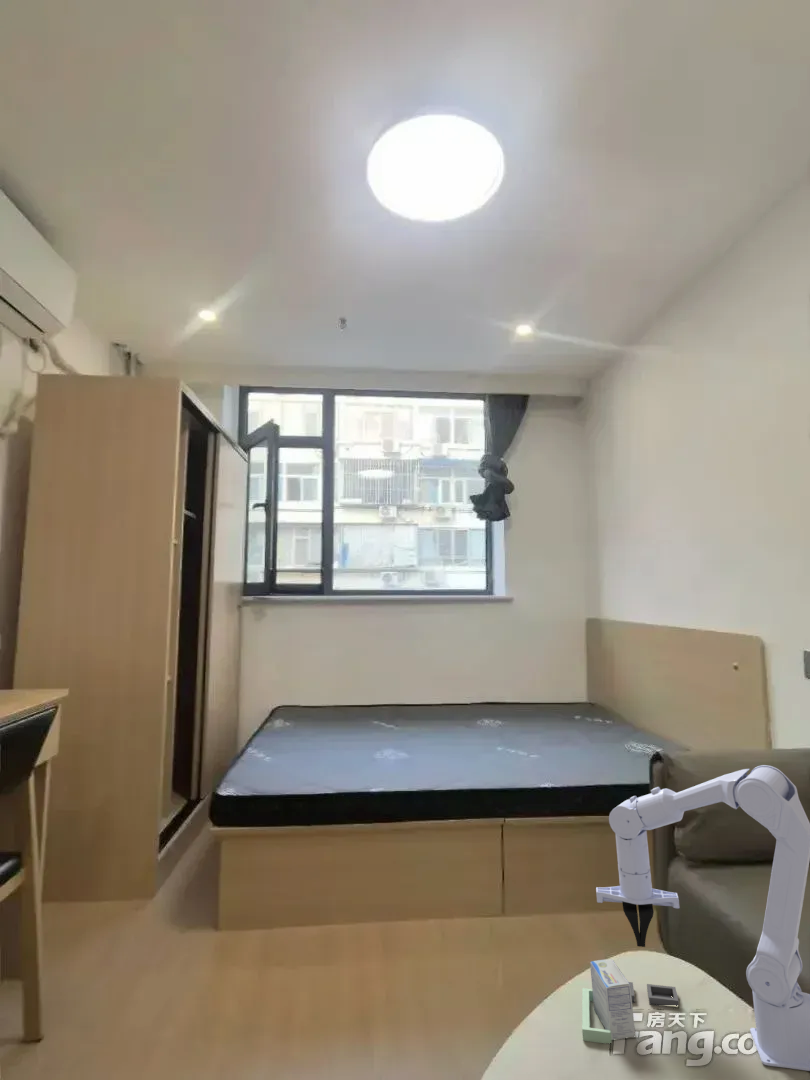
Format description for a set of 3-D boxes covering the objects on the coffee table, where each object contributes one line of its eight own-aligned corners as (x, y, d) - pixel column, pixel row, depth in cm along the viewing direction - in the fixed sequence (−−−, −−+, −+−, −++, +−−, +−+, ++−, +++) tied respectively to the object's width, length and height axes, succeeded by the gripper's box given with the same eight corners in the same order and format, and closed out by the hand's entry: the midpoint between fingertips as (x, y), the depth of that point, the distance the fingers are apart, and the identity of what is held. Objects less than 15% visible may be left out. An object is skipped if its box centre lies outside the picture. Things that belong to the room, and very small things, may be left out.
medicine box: (636, 1038, 104) (631, 984, 105) (610, 1041, 104) (606, 987, 105) (617, 1008, 112) (613, 957, 113) (593, 1010, 112) (589, 960, 113)
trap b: (633, 989, 117) (632, 982, 117) (635, 1002, 113) (634, 995, 113) (605, 986, 118) (605, 979, 118) (606, 999, 114) (605, 992, 115)
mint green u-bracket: (608, 1001, 114) (608, 990, 114) (611, 1044, 103) (610, 1032, 103) (583, 998, 115) (582, 987, 115) (583, 1040, 104) (582, 1029, 105)
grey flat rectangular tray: (675, 993, 115) (675, 986, 115) (679, 1007, 111) (678, 1000, 111) (647, 990, 116) (646, 983, 116) (649, 1004, 112) (648, 997, 113)
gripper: (672, 861, 118) (679, 935, 117) (593, 856, 122) (599, 928, 121) (677, 877, 112) (685, 957, 110) (594, 872, 116) (600, 949, 114)
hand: (640, 943), depth 115 cm, fingers closed
